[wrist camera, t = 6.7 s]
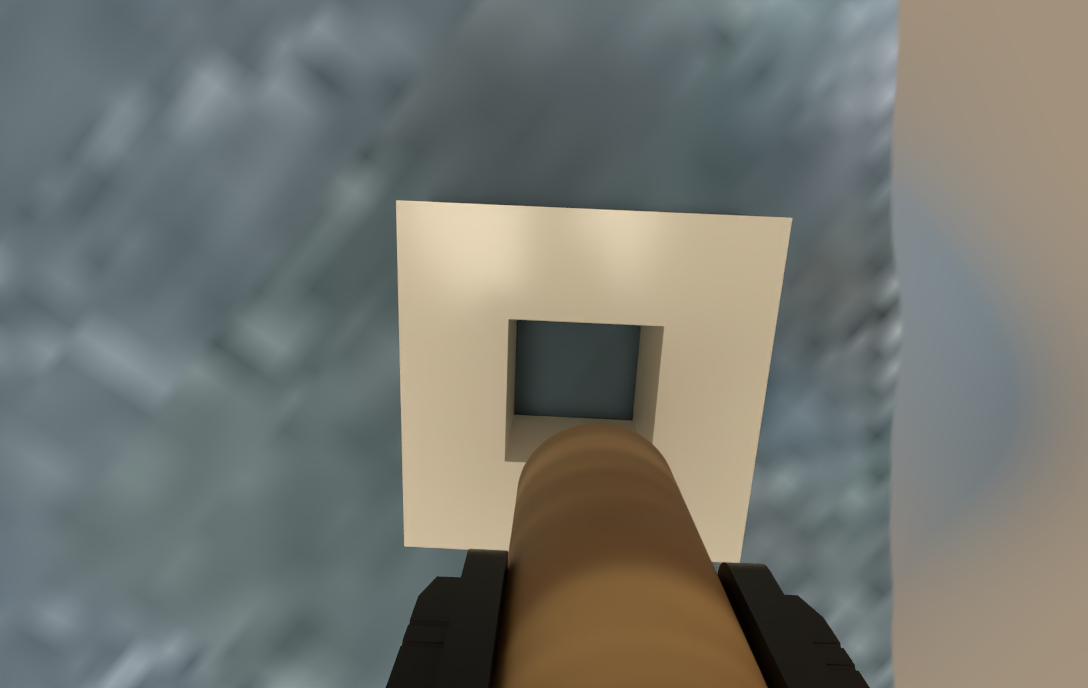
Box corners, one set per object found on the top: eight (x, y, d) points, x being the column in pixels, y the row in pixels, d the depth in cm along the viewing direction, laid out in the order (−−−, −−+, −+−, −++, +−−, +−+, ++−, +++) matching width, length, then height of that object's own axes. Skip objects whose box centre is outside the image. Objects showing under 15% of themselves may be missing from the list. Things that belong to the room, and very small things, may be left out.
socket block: (428, 202, 24) (395, 200, 19) (743, 216, 24) (792, 217, 19) (431, 486, 27) (404, 546, 22) (706, 499, 27) (739, 563, 22)
